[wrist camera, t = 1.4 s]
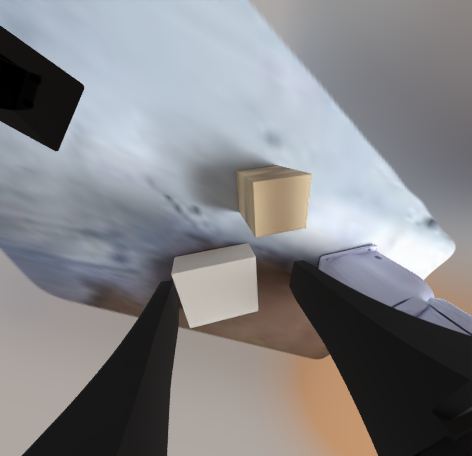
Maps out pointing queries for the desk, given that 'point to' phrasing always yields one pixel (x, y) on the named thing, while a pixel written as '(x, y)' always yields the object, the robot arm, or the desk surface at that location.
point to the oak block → (273, 199)
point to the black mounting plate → (35, 92)
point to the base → (216, 284)
